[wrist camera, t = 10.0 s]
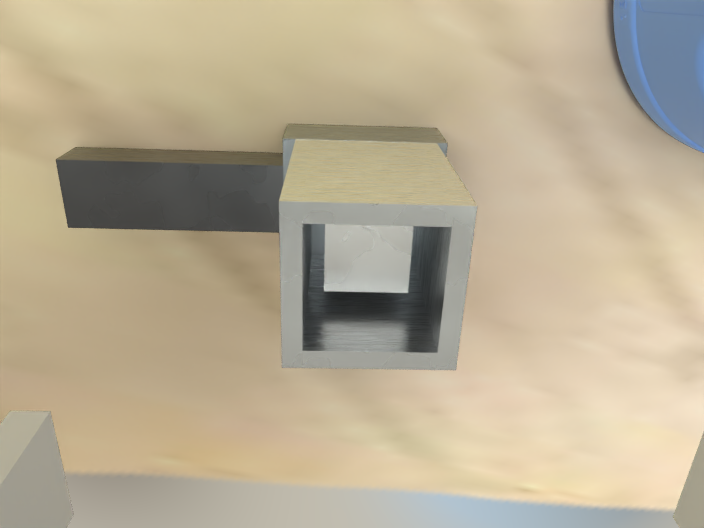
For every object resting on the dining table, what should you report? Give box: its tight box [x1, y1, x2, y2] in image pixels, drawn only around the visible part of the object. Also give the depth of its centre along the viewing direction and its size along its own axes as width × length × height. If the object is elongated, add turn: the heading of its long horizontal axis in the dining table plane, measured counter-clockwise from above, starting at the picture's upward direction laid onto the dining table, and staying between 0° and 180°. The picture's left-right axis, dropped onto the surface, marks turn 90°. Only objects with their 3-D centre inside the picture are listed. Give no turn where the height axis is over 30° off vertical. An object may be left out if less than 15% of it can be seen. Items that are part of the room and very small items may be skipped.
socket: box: [279, 139, 477, 370], centre depth 23 cm, size 6×6×8 cm
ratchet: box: [56, 124, 448, 293], centre depth 25 cm, size 17×6×8 cm, turn 88°
